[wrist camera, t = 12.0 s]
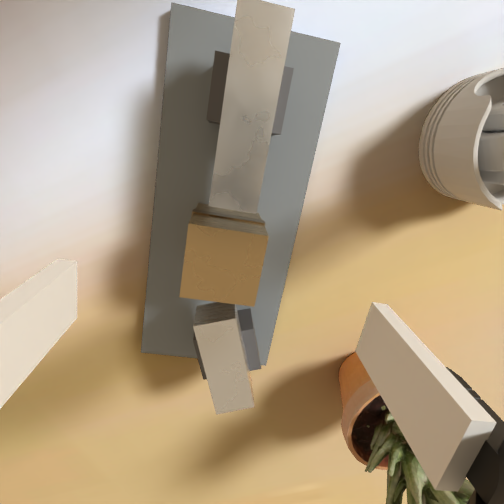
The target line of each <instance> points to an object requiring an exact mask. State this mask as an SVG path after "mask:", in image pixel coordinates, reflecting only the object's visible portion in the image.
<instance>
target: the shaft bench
mask: <svg viewBox="0 0 504 504" xmlns="http://www.w3.org/2000/svg"><path fill="white" fill-rule="evenodd" d="M234 21H235V18H234V17H230V16H226V15H222V14H218V13H214V12H209V11H205V10H201V9H197V8H193V7H189V6H184V5H180V4H176V3H171V14H170V26H169V37H168V49H167V60H166V71H165V83H164V94H163V106H162V117H161V128H160V140H159V151H158V163H157V174H156V186H155V197H154V208H153V220H152V231H151V243H150V254H149V265H148V277H147V288H146V300H145V311H144V323H143V334H142V345H141V352H142V353H151V354H161V355H170V356H180V357H189V358H198V361H199V365H200V369H201V372H202V376H203V380H205V379H207V377H206V373H205V370H204V366H203V362H202V358H201V355H200V351H199V347H198V343H197V340H196V336H195V332H194V328H193V324H194V318H195V313H196V307H197V306H198V305H204V304H209V303H214V302H213V301H205V300H198V299H190V298H182V297H179V296H180V288H181V280H182V272H183V264H184V256H185V248H186V239H187V231H188V223H189V221H190V219H191V216H192V211H193V209H196V207H197V204H198V203H202V204H208V205H209V199H210V192H211V185H212V178H213V171H214V164H215V156H216V149H217V142H218V135H219V128H220V121H221V114H222V107H223V100H224V92H225V85H226V78H227V71H228V64H229V57H230V50H231V43H232V35H233V28H234ZM339 47H340V43H338V42H334V41H330V40H326V39H322V38H318V37H313V36H309V35H305V34H301V33H297V32H293V31H291V33H290V38H289V44H288V49H287V54H286V60H285V65H284V70H283V75H282V81H281V86H280V91H279V97H278V102H277V107H276V113H275V118H274V123H273V129H272V134H271V139H270V145H269V150H268V155H267V161H266V166H265V171H264V176H263V182H262V187H261V192H260V198H259V203H258V208H257V213H259V215H260V217H261V219H262V220H264V221H265V228H266V231H267V233H268V235H269V238H268V243H267V248H266V253H265V258H264V263H263V268H262V272H261V277H260V282H259V287H258V292H257V297H256V302H255V306H254V307H252V306H244V305H237V304H236V308H237V313H238V317H239V322H240V327H241V332H242V336H243V341H244V346H245V351H246V355H247V360H248V365H249V370H250V371H252V370H257V369H261V365H266V363H267V358H268V354H269V350H270V346H271V341H272V337H273V333H274V328H275V324H276V320H277V315H278V311H279V307H280V302H281V298H282V294H283V289H284V285H285V281H286V276H287V272H288V268H289V263H290V259H291V255H292V250H293V246H294V242H295V237H296V233H297V229H298V224H299V220H300V216H301V212H302V207H303V203H304V199H305V194H306V190H307V186H308V181H309V177H310V173H311V168H312V164H313V160H314V155H315V151H316V147H317V142H318V138H319V134H320V129H321V125H322V121H323V116H324V112H325V108H326V103H327V99H328V95H329V91H330V86H331V82H332V78H333V73H334V69H335V65H336V60H337V56H338V52H339Z"/></svg>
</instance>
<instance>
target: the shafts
mask: <svg viewBox="0 0 504 504" xmlns="http://www.w3.org/2000/svg"><path fill="white" fill-rule="evenodd" d="M294 12H295V9H293V8H289V7H285V6H281V5H277V4H273V3H269V2H265V1H261V0H237V7H236V14H235V21H234V28H233V35H232V43H231V50H230V57H229V64H228V71H227V78H226V85H225V92H224V100H223V107H222V114H221V121H220V128H219V135H218V142H217V149H216V156H215V164H214V171H213V178H212V185H211V192H210V199H209V206H211V207H217V208H223V209H229V210H235V211H241V212H247V213H253V214H257V208H258V203H259V198H260V192H261V187H262V182H263V176H264V171H265V166H266V161H267V155H268V150H269V145H270V139H271V134H272V129H273V123H274V118H275V113H276V107H277V102H278V97H279V91H280V86H281V81H282V75H283V70H284V65H285V60H286V54H287V49H288V44H289V38H290V33H291V28H292V22H293V17H294ZM193 328H194V332H195V336H196V340H197V343H198V347H199V351H200V355H201V358H202V362H203V366H204V370H205V373H206V377H207V381H208V385H209V388H210V392H211V396H212V399H213V403H214V407H215V411H216V414H221V413H227V412H232V411H237V410H242V409H247V408H253V407H254V397H253V388H252V379H251V374H250V370H249V365H248V360H247V355H246V351H245V346H244V341H243V336H242V332H241V327H240V322H239V317H238V313H237V308H236V304H229V303H221V302H214V303H209V304H204V305H198V306H197V307H196V313H195V318H194V324H193Z"/></svg>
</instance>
